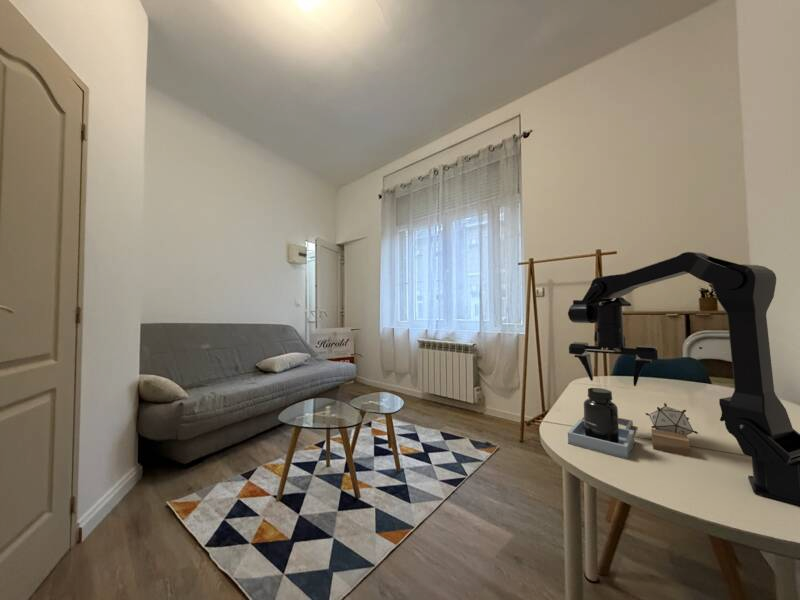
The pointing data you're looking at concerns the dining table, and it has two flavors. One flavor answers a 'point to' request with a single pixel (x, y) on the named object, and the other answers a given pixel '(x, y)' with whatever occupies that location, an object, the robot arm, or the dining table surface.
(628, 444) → the parts tray
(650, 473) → the dining table surface
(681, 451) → the block
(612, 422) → the supplement bottle
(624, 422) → the grey square frame
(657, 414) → the game die
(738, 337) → the robot arm
